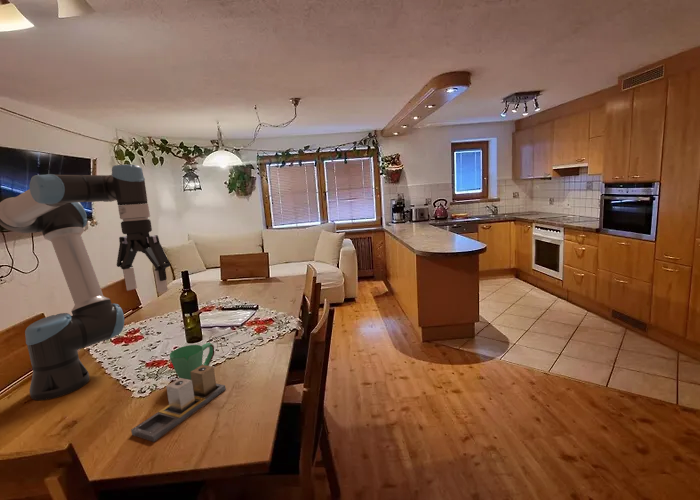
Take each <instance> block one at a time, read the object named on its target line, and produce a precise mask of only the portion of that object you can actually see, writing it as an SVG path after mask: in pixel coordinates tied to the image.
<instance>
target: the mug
mask: <svg viewBox="0 0 700 500" xmlns="http://www.w3.org/2000/svg"><path fill="white" fill-rule="evenodd" d="M207 348H209V351H208V354H207V356H206V359H205V361H204V363H203V356H204V355H203V354H204V351H205V350H206V349H207ZM168 356H169V358H170V361H171V364H172V366H173V369H174V371H175V373H176V375H177V377H178V379H179V378H183V379H188V380H191V374H190V372H191V371H193V370H194V369H196V368H198V367H199V366H201V365H206V366H210V364H211V362H212V360H213V358H214V356H215V345H214V344H213V343H211V342H210V343H209V342H206V343H204V344H202V345H200V344H190V345H185V346H182V347H181V346H180V347H178V348H176V349H174V350H172V351H171V352H170V353H169V355H168Z"/></svg>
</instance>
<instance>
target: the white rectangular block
mask: <svg viewBox="0 0 700 500" xmlns="http://www.w3.org/2000/svg"><path fill="white" fill-rule="evenodd" d="M165 388H166V394H167V400H168V405H169V407H170V411H172V412H176V413H180V414H182V413H183V412H184V411H186V410H187V409H189V408H190V407H191V406H193V405H194V404H195V398H194V392H193V385H192V380H188V379H183V378H179V377H178V378H177V379H176V380H174V381H172V382H171V383H169V384H167V385H165Z"/></svg>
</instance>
